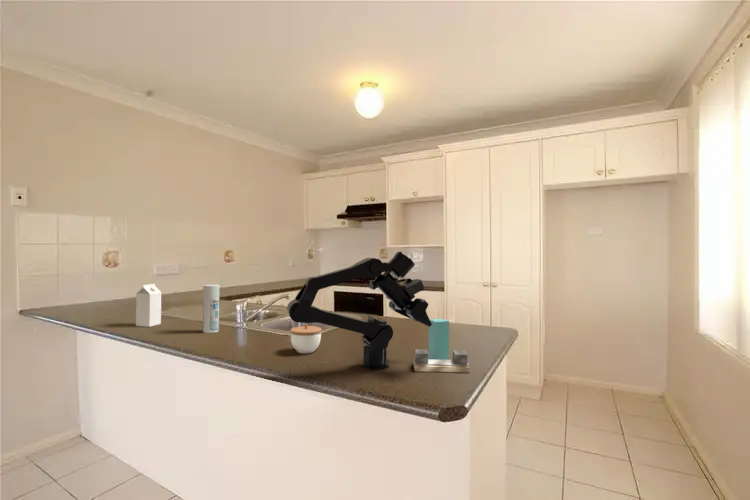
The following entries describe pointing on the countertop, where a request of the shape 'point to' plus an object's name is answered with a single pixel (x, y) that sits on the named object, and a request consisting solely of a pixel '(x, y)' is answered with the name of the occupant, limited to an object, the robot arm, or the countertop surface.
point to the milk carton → (148, 306)
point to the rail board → (441, 362)
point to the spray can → (211, 308)
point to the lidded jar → (305, 338)
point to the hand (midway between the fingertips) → (423, 322)
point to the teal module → (438, 339)
